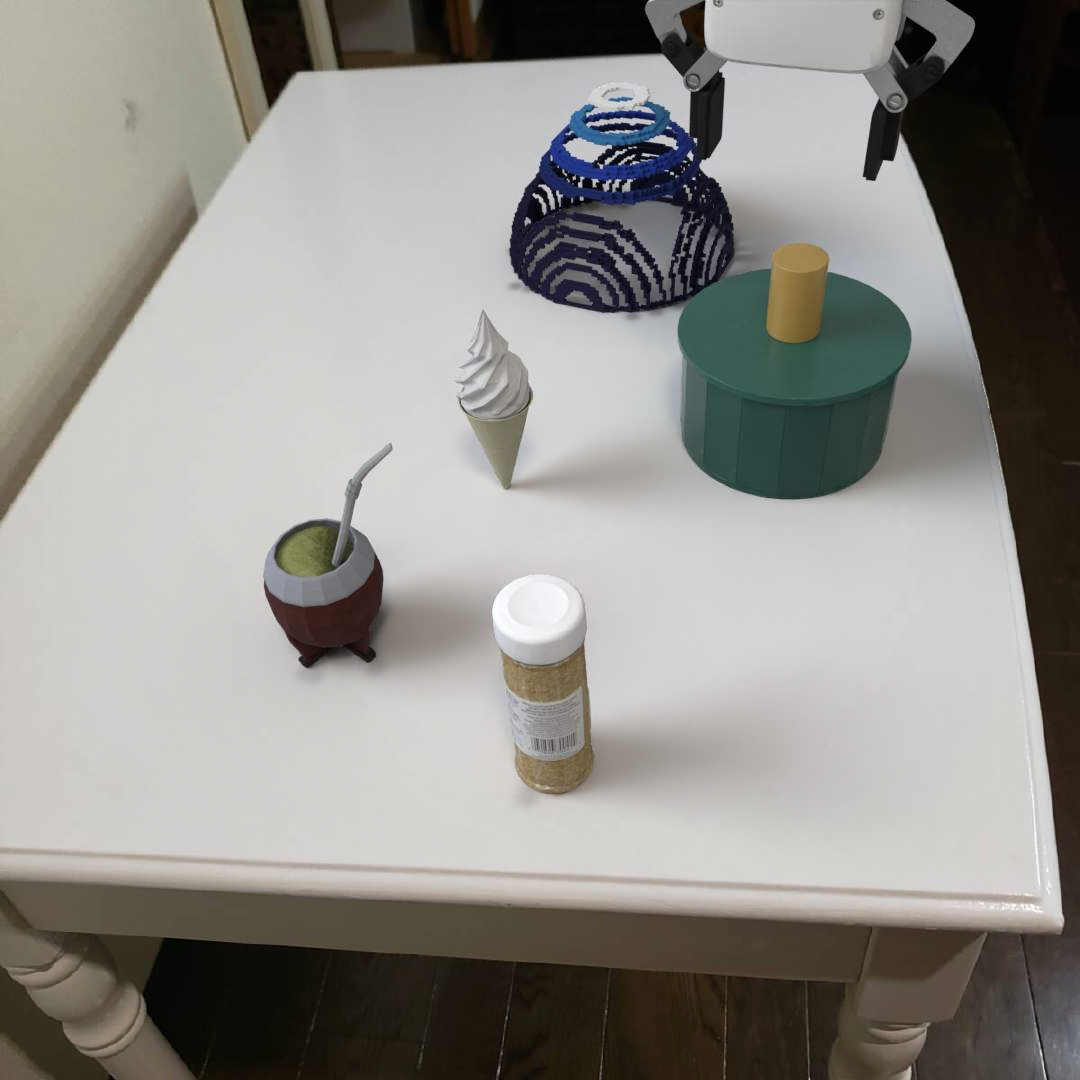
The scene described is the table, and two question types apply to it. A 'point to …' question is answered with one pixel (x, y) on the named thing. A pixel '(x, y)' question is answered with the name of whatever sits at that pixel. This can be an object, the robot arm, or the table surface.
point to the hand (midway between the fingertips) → (789, 159)
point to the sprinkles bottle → (546, 680)
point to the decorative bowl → (640, 190)
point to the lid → (794, 333)
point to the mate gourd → (327, 581)
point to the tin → (782, 439)
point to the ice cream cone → (495, 397)
